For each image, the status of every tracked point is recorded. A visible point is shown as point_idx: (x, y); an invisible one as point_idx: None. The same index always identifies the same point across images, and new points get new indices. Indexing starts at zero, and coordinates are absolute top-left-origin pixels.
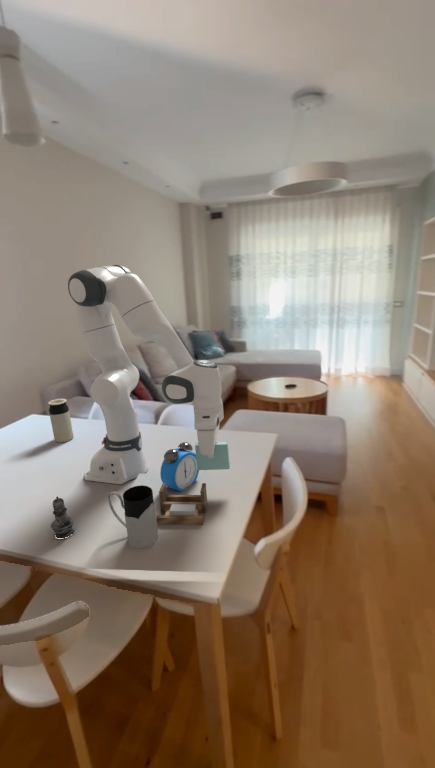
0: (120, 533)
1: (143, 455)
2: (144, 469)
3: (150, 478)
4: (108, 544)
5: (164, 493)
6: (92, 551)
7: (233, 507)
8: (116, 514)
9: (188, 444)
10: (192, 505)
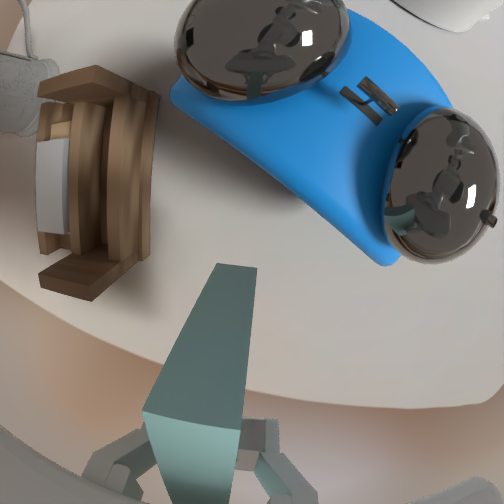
0: (70, 25)
1: (468, 1)
2: (420, 8)
3: (379, 23)
4: (47, 25)
5: (74, 95)
6: (40, 12)
7: (156, 332)
8: (24, 10)
9: (448, 238)
10: (57, 222)
